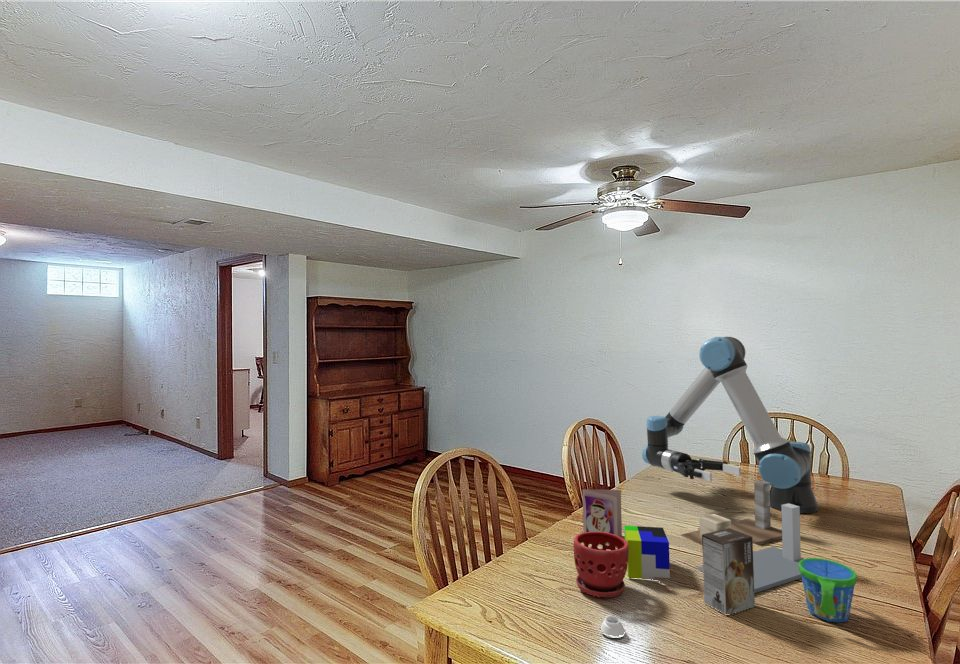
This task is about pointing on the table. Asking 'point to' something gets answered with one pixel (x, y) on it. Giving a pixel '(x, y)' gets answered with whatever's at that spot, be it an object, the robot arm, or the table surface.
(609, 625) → the grey tapered hollow piece
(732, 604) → the coffee box
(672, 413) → the robot arm
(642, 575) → the puzzle toy
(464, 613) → the table surface
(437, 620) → the table surface
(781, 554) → the base plate with post
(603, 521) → the greeting card
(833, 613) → the snack cup
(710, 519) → the beech block
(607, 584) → the plant pot
